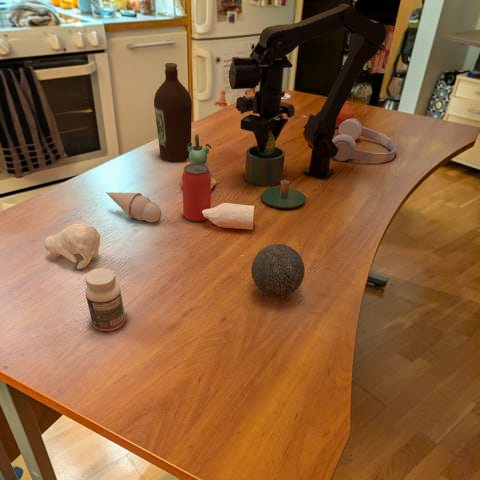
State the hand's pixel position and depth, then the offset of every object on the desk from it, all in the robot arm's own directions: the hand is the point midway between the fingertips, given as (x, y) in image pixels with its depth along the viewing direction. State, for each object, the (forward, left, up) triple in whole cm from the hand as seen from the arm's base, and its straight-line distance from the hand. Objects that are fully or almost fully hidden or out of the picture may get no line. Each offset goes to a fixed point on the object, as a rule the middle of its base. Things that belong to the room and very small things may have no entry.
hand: (266, 149), depth 125 cm
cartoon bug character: (+16, -12, -8) cm, 21 cm away
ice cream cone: (+38, -14, -8) cm, 42 cm away
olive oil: (+3, -30, -8) cm, 31 cm away
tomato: (-56, -1, -8) cm, 56 cm away
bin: (0, 0, -8) cm, 8 cm away
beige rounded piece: (+59, -12, -8) cm, 61 cm away
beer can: (+29, -2, -8) cm, 30 cm away
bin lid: (+9, +11, -8) cm, 16 cm away
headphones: (-37, +16, -8) cm, 41 cm away
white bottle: (+29, +7, -8) cm, 31 cm away
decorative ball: (+45, +28, -8) cm, 54 cm away
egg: (0, 0, -1) cm, 1 cm away
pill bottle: (+70, +8, -8) cm, 71 cm away
